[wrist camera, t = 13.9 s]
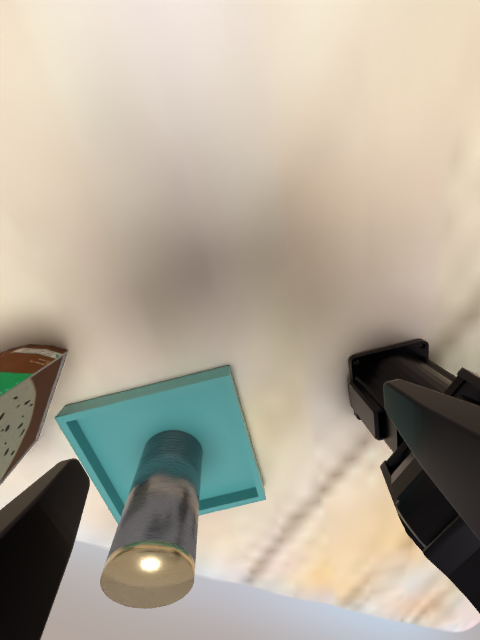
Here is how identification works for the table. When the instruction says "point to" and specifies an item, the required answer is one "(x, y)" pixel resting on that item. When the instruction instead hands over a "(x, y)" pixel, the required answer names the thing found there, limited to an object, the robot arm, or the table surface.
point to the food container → (25, 398)
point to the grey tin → (157, 526)
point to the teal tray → (163, 415)
